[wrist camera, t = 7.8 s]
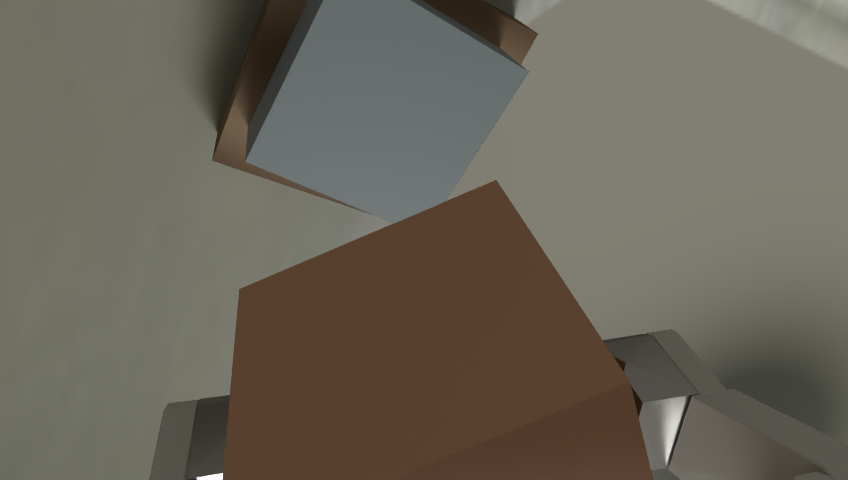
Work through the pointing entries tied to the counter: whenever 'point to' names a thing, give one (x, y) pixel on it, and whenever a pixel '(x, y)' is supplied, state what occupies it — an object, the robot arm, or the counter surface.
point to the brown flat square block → (270, 43)
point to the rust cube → (428, 362)
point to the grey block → (380, 104)
